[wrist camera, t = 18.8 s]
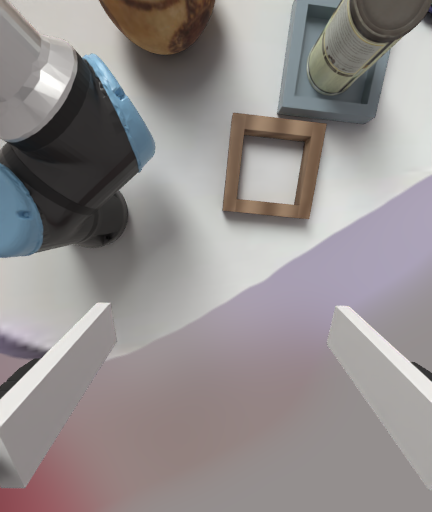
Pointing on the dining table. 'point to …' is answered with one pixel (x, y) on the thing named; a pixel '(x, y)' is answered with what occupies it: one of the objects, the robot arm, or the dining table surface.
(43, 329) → the dining table surface
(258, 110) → the dining table surface
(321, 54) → the coffee can
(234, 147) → the wooden square frame
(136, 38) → the clay pot
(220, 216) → the dining table surface
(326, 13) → the tray
